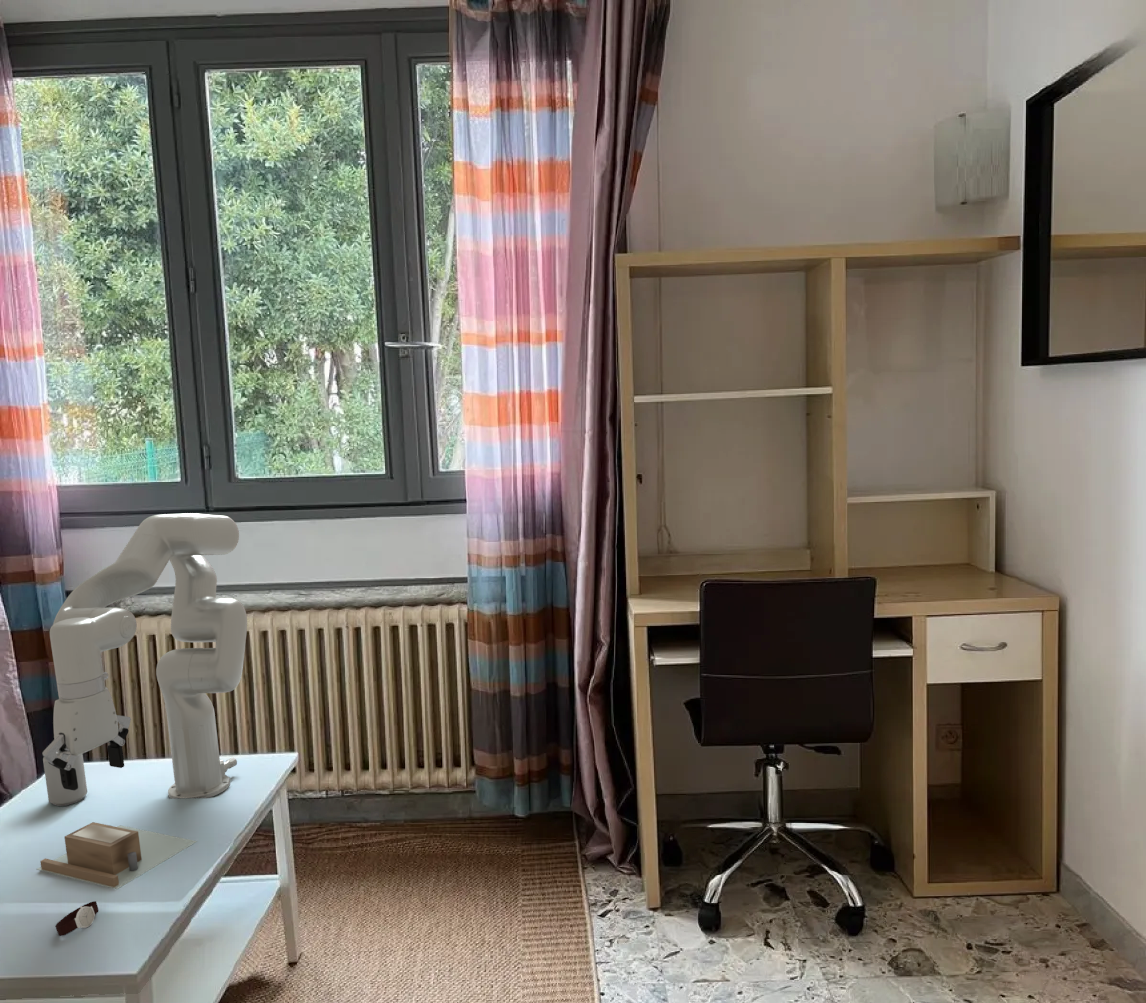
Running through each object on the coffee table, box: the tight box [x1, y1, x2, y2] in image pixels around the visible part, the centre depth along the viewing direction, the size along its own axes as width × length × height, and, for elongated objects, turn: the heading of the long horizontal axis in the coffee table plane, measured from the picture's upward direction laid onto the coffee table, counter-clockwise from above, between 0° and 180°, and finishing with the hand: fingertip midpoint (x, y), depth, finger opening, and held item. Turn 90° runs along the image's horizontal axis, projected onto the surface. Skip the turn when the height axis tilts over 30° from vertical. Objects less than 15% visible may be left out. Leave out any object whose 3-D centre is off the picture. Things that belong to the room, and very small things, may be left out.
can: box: [42, 752, 88, 807], centre depth 207 cm, size 8×8×12 cm
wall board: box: [36, 825, 198, 890], centre depth 178 cm, size 18×21×4 cm
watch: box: [54, 900, 100, 937], centre depth 157 cm, size 8×5×4 cm, turn 165°
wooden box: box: [64, 821, 142, 875], centre depth 175 cm, size 6×12×6 cm, turn 65°
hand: (94, 777), depth 174 cm, fingers open, 9 cm apart
